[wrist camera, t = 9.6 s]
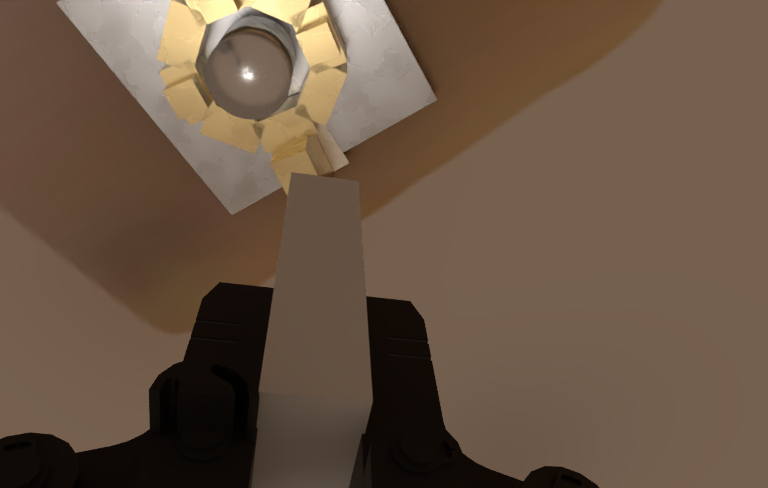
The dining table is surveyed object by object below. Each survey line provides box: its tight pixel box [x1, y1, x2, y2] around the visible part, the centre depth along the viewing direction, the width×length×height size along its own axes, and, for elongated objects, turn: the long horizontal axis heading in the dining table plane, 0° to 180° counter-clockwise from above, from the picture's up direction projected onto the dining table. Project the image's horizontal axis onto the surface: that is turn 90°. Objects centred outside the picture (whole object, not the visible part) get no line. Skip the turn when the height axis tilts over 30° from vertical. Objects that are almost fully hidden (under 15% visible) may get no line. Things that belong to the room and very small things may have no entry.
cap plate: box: [57, 0, 437, 215], centre depth 35 cm, size 17×16×6 cm
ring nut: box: [156, 0, 347, 196], centre depth 35 cm, size 14×10×5 cm
